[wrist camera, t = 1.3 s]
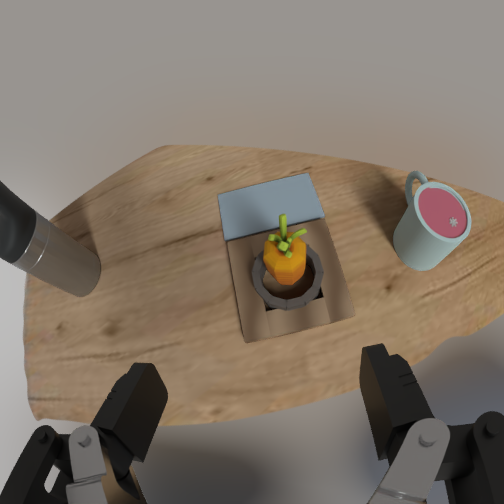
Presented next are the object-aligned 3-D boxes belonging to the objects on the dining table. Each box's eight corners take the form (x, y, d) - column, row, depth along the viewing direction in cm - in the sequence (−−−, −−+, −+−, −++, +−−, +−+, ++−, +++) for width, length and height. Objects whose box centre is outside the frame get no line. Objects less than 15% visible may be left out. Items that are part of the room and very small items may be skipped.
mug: (448, 264, 35) (480, 237, 26) (402, 275, 36) (429, 248, 27) (421, 193, 40) (440, 156, 31) (377, 198, 41) (391, 158, 32)
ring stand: (247, 343, 36) (241, 341, 33) (229, 246, 42) (223, 236, 39) (353, 316, 35) (358, 312, 32) (323, 223, 41) (325, 211, 38)
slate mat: (225, 241, 43) (224, 240, 42) (218, 196, 46) (217, 194, 46) (324, 217, 41) (324, 215, 41) (308, 174, 45) (308, 172, 45)
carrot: (280, 258, 40) (270, 201, 26) (311, 272, 38) (317, 219, 25) (265, 288, 39) (245, 243, 25) (296, 302, 37) (294, 264, 23)
